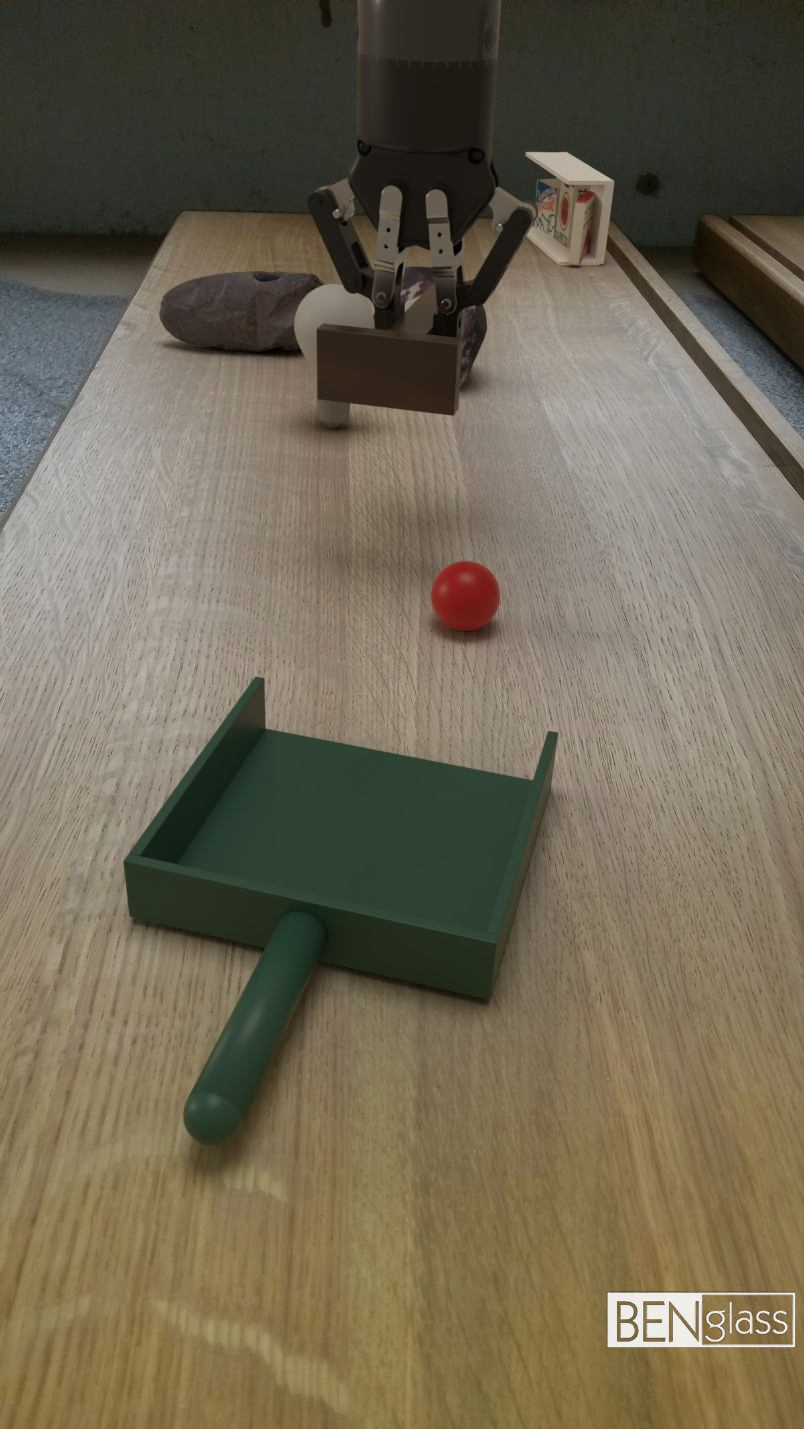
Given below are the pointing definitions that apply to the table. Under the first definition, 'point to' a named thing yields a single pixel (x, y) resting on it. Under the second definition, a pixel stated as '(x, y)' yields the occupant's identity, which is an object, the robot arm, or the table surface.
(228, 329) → the perforated stone tool
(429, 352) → the wooden t-shaped pusher
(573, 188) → the cigarette display
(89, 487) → the table surface
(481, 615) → the red billiard ball
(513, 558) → the table surface
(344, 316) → the lightbulb
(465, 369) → the mineral specimen
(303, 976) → the dustpan
